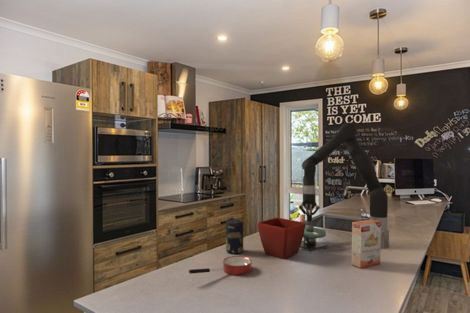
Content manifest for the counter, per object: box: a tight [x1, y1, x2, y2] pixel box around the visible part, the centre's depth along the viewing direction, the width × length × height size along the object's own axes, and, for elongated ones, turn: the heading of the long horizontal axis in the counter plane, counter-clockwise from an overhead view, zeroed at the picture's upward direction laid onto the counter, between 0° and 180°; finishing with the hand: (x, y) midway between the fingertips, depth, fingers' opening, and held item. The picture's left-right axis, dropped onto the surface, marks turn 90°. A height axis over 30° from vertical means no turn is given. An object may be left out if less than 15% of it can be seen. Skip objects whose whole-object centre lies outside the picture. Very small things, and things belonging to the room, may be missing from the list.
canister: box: [225, 218, 244, 254], centre depth 168 cm, size 10×10×18 cm
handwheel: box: [299, 214, 327, 239], centre depth 180 cm, size 20×18×9 cm
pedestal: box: [299, 237, 328, 252], centre depth 179 cm, size 14×14×7 cm
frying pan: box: [188, 255, 253, 276], centre depth 136 cm, size 32×13×6 cm, turn 136°
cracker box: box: [351, 219, 382, 269], centre depth 149 cm, size 14×6×21 cm, turn 117°
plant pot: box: [257, 217, 307, 260], centre depth 165 cm, size 19×19×17 cm
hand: (309, 221), depth 186 cm, fingers closed
